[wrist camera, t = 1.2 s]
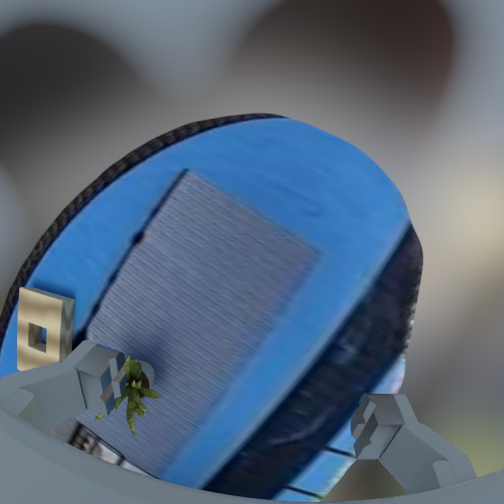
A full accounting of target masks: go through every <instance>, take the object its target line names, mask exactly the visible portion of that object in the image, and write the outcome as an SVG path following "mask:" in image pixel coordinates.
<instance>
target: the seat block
mask: <svg viewBox="0 0 504 504" xmlns="http://www.w3.org/2000/svg"><path fill="white" fill-rule="evenodd" d="M74 306H75V299H72V298H68V297H64V296H61V295H57V294H54V293H50V292H47V291H44V290H40V289H37V288H34V287H20V292H19V305H18V326H17V362H18V369H19V370H21V371H25V370H29V369H32V368H36V367H40V366H44V365H47V364H51V363H55V362H60V363H62V362H63V361H64V360H65V359H66V358H67V357H68V356H69V355H70V354H71V349H72V330H73V317H74ZM42 327H44V328H46V329H47V341H46V344H44V343H41V328H42Z"/></svg>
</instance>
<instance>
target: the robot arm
mask: <svg viewBox="0 0 504 504" xmlns="http://www.w3.org/2000/svg"><path fill="white" fill-rule="evenodd" d="M124 364H125V354H124V353H122V352H120V351H117V350H114V349H111V348H108V347H105V346H103V345H100V344H96V343H94V342H91V341H88V340H85V341H83V342H82V343H81V344H80V345H79V346H78V347H77V348H76V349H75V350H74V351H73V352H72V353H71V354H70V355H69V356H68V357H67V358H66V359H65V360H64V361H63V362H62V363H60V362H55V363H51V364H47V365H44V366H40V367H36V368H32V369H29V370H25V371H21V372H17V373H13V374H9V375H5V376H4V377H2V378H1V379H0V504H504V468H503V469H501V470H498V471H496V472H493V473H490V474H487V475H484V476H481V477H477V475H476V473H475V471H474V469H473V467H472V464H471V463H470V460H469V458H468V456H467V455H466V454H465V453H464V452H462V451H461V450H459V449H457V448H456V447H455V446H453V445H452V444H451V443H449V442H448V441H446V440H445V439H443V438H442V437H441V436H439V435H438V434H436V433H435V432H434V431H432V430H431V429H429V428H428V427H426V426H425V425H424V424H419V423H418V421H417V418H416V416H415V415H414V412H413V410H412V408H411V406H410V403H409V402H408V399H407V397H406V395H404V394H364V395H363V396H362V398H361V400H360V406H361V407H360V408H359V409H357V410H356V411H355V412H354V414H353V416H352V420H351V435H352V436H353V437H354V438H355V439H356V442H355V444H354V449H355V453H356V458H357V459H379V461H380V462H381V463H382V464H383V465H384V466H385V467H386V468H387V469H388V471H389V472H390V473H391V474H392V475H393V476H394V477H395V478H396V479H397V480H398V482H399V483H400V484H401V485H402V486H403V487H404V488H405V489H406V490H407V492H406V493H405V494H404V495H403V496H397V497H390V498H382V499H373V500H362V501H347V502H290V501H274V500H263V499H253V498H245V497H238V496H231V495H225V494H219V493H214V492H208V491H204V490H199V489H194V488H190V487H186V486H182V485H178V484H174V483H170V482H166V481H163V480H159V479H156V478H153V477H149V476H146V475H143V474H140V473H137V472H134V471H131V470H128V469H125V468H123V467H120V466H117V465H115V464H112V463H110V462H107V461H105V460H102V459H100V458H97V457H95V456H93V455H90V454H88V453H86V452H84V451H81V450H79V449H77V448H75V447H73V446H71V445H69V444H67V443H65V442H63V441H61V440H59V439H57V438H55V437H53V436H51V435H50V433H49V431H48V429H50V428H52V427H54V426H56V425H58V424H60V423H62V422H64V421H66V420H68V419H70V418H72V417H74V416H76V415H78V414H80V413H82V412H84V411H86V410H87V409H88V410H91V411H94V412H96V413H99V414H102V415H105V416H107V417H108V416H109V414H110V413H111V411H112V410H113V408H114V406H115V405H116V403H115V399H116V398H118V397H120V396H121V395H122V394H123V392H124V390H125V387H126V384H127V372H126V371H125V369H124V368H123V365H124Z"/></svg>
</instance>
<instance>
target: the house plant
mask: <svg viewBox="0 0 504 504" xmlns="http://www.w3.org/2000/svg"><path fill="white" fill-rule="evenodd" d="M123 368H124V369H125V371H126V372H127V384H126V387H125V390H124V392H123V394H122V395H121V396H120V397H118V398H116V399H115V403H116V405H115V406H114V408H115V407H116V410H117V407H118V405H119V404H120V403H121V401H122V400H123V399H124V398H127V399H128V405H127V422H128V424H129V426H130V430H131V432H132V434H133V435H134V436H135V431H134V430H135V427H134V414H135V411H136V412H137V413H138V415H139V416H140V417H141V418H142V416H143V414H144V411H146V412H149V411H148V409H146V408H145V406H144V404H143V403H142V402H141V400H143V399H144V398H146V397H149V398H153V399H154V398H161V396H160V395H159V394H158V393H157V392H156V391H154V390H151V388H152V385H153V381H154V378H155V374H154V369H153V367H152V366H151V365H150V364H149V363H147V362H145V361H142V360H141V361H138V359H130V354H129V356H128V357H127V359H126V361H125V364H124V365H123ZM114 408H113V409H114ZM103 416H105V415H102V414H99V413H98V415H97V416H96V419H95V420H98V419H100V418H102V417H103Z"/></svg>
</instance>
